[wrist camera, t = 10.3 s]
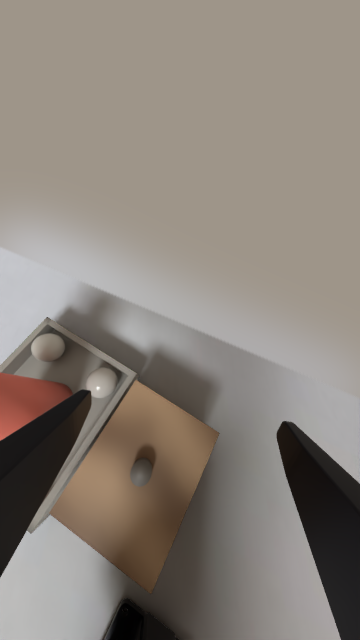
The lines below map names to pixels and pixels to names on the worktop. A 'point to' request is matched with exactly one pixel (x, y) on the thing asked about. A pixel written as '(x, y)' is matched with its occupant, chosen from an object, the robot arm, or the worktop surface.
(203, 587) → the worktop surface
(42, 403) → the scoop cup
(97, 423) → the tray
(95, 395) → the shiny white sphere
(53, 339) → the white glossy ball
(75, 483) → the lidded box
